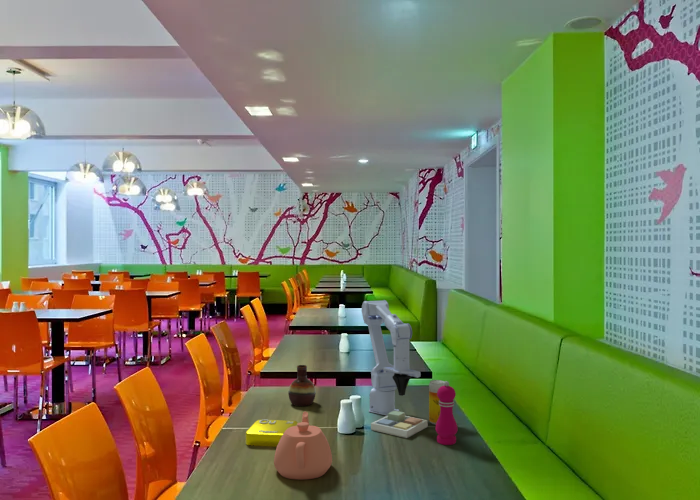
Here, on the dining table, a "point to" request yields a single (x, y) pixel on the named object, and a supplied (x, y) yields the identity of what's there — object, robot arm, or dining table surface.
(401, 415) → the sage key
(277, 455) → the teapot
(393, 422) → the slate-blue key
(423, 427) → the keypad base
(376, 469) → the dining table surface
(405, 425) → the mustard key
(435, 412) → the beer can
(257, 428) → the element tile
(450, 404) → the pepper mill
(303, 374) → the vase
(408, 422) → the terracotta key
